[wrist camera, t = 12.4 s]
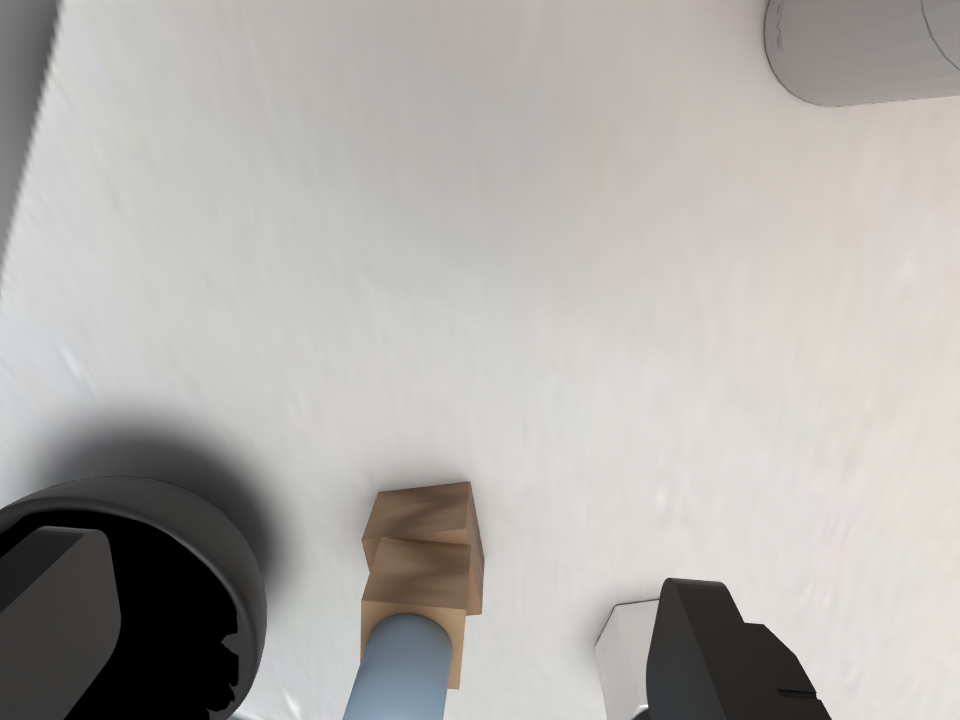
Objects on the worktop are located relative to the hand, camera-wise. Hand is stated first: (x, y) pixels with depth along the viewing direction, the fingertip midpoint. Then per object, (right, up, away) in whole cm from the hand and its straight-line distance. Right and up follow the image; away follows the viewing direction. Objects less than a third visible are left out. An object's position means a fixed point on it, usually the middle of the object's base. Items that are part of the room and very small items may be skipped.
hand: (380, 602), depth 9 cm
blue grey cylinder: (-3, -13, +27) cm, 31 cm away
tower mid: (-2, -11, +33) cm, 35 cm away
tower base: (-2, -9, +39) cm, 40 cm away
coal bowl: (-22, -11, +40) cm, 47 cm away
